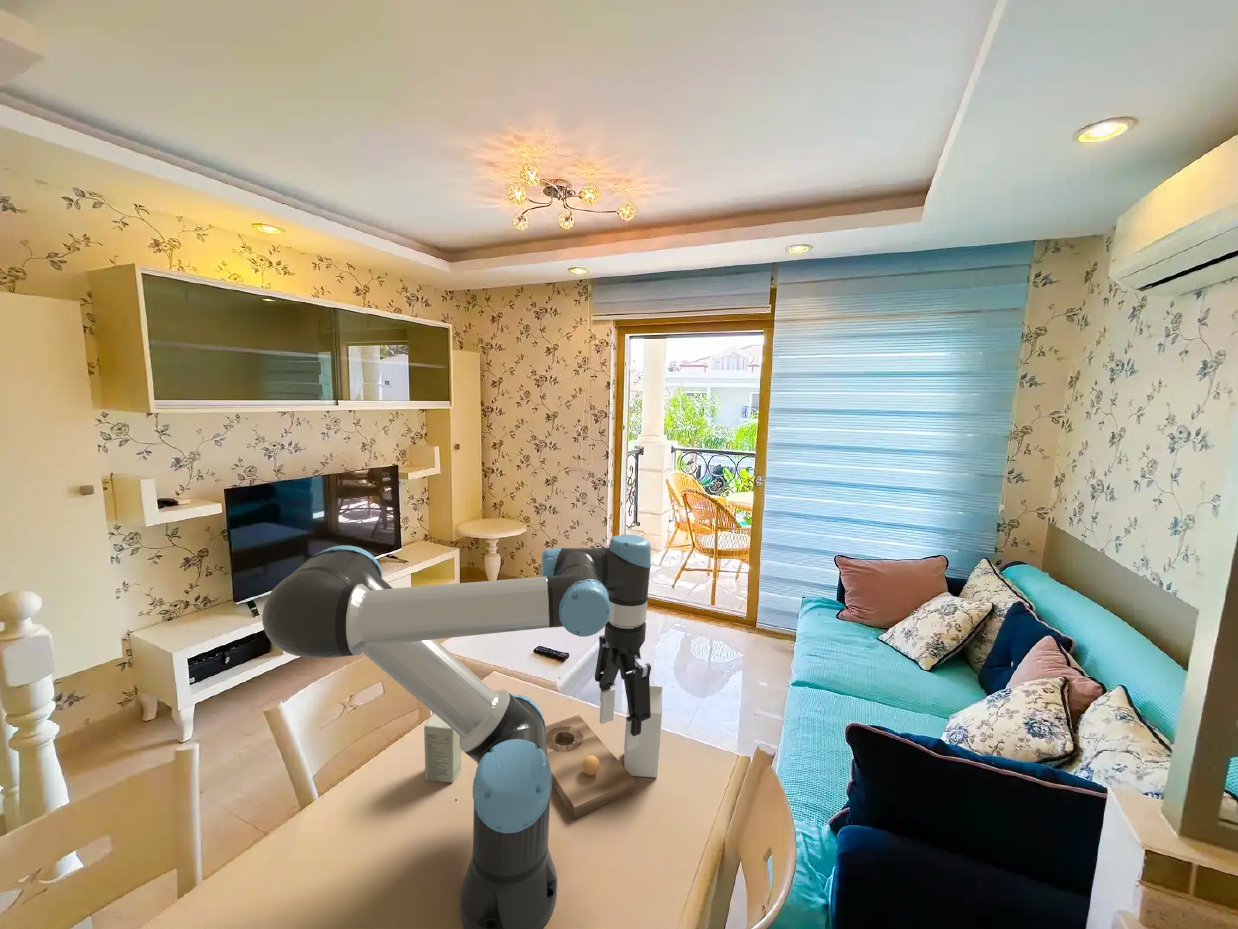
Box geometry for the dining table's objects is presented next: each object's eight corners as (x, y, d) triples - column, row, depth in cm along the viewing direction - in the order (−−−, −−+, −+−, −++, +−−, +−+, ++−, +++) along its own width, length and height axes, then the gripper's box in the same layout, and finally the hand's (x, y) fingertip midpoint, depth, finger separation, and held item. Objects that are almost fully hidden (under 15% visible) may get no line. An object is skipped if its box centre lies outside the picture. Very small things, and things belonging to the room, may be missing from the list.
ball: (587, 782, 101) (588, 766, 101) (578, 770, 104) (579, 755, 104) (602, 775, 103) (603, 760, 103) (593, 764, 106) (594, 749, 106)
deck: (634, 791, 103) (634, 780, 103) (574, 819, 95) (574, 807, 95) (578, 724, 123) (578, 714, 122) (524, 743, 115) (525, 733, 115)
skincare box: (462, 768, 106) (463, 715, 105) (453, 784, 102) (454, 729, 100) (433, 764, 107) (433, 712, 105) (423, 780, 103) (423, 725, 101)
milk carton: (657, 778, 107) (663, 696, 104) (623, 776, 107) (629, 693, 104) (655, 754, 114) (661, 677, 111) (624, 752, 114) (629, 675, 111)
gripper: (678, 640, 85) (668, 762, 88) (612, 596, 102) (606, 699, 105) (642, 650, 81) (633, 777, 84) (580, 602, 98) (574, 709, 101)
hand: (618, 734), depth 94 cm, fingers open, 8 cm apart
